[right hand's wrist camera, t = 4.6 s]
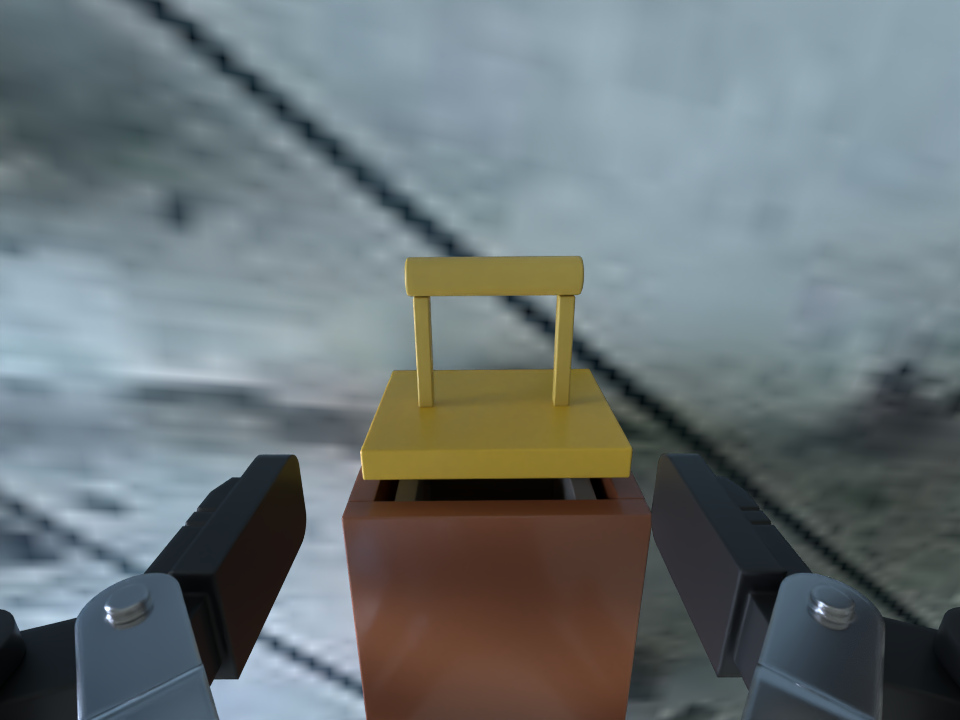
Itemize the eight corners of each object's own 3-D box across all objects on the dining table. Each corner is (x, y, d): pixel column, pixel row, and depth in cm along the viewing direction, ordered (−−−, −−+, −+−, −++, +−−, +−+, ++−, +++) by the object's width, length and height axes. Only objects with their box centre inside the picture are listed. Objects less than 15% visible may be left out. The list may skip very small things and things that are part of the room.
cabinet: (386, 399, 26) (340, 517, 17) (595, 397, 26) (654, 515, 17) (408, 683, 33) (384, 868, 25) (572, 682, 33) (606, 866, 25)
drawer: (383, 243, 22) (341, 278, 16) (599, 241, 22) (653, 276, 16) (413, 660, 31) (395, 801, 24) (568, 658, 31) (594, 799, 24)
